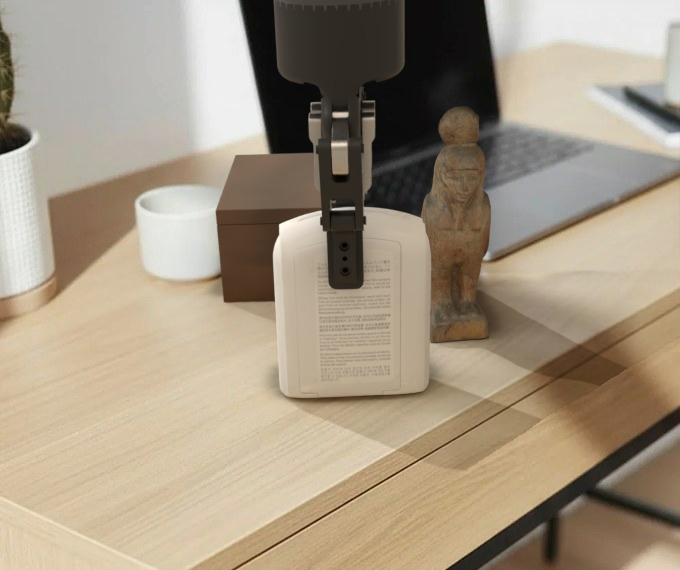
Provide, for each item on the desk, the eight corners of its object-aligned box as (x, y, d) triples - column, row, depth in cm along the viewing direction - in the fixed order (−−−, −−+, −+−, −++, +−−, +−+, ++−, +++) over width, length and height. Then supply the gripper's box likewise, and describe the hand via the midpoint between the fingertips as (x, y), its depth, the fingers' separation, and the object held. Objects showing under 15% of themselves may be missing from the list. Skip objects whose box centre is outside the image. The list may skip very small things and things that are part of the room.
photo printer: (426, 370, 84) (427, 195, 78) (434, 397, 80) (435, 215, 74) (279, 378, 84) (267, 203, 77) (280, 405, 80) (268, 224, 74)
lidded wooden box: (363, 235, 108) (361, 151, 104) (361, 299, 95) (359, 206, 91) (241, 237, 108) (235, 154, 104) (223, 302, 96) (215, 210, 92)
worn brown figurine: (487, 368, 90) (509, 143, 77) (414, 370, 90) (424, 146, 77) (469, 279, 98) (486, 64, 86) (402, 281, 98) (409, 66, 85)
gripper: (406, 8, 62) (407, 315, 72) (402, -33, 75) (403, 234, 84) (263, 12, 63) (282, 317, 72) (281, -29, 75) (295, 236, 84)
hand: (347, 271), depth 78 cm, fingers closed on photo printer, 4 cm apart
